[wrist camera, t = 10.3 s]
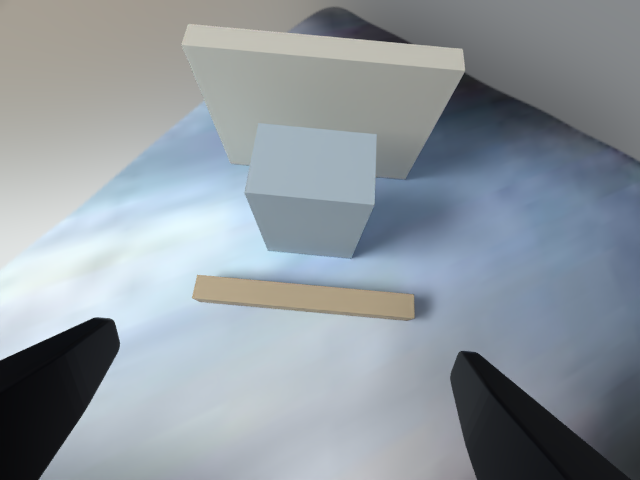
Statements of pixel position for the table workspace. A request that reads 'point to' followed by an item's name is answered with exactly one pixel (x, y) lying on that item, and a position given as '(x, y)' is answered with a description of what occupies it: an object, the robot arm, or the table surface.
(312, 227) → the pale grey square box
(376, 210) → the table surface
